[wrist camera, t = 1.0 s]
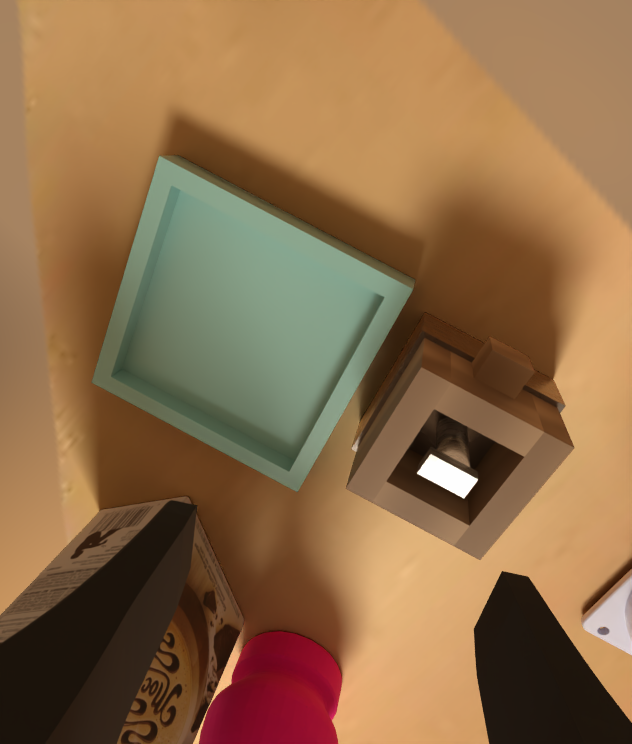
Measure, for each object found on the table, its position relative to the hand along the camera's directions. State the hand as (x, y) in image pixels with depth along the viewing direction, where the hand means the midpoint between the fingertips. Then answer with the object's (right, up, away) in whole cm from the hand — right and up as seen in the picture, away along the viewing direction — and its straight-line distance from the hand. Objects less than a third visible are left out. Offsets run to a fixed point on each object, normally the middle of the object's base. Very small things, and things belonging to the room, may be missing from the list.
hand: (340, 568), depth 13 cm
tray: (-4, +7, +12) cm, 14 cm away
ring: (+5, +2, +9) cm, 10 cm away
